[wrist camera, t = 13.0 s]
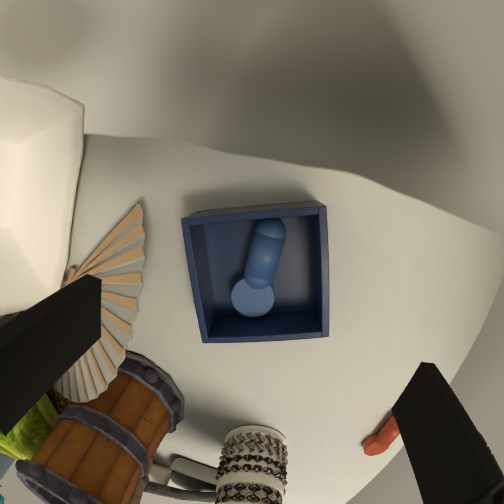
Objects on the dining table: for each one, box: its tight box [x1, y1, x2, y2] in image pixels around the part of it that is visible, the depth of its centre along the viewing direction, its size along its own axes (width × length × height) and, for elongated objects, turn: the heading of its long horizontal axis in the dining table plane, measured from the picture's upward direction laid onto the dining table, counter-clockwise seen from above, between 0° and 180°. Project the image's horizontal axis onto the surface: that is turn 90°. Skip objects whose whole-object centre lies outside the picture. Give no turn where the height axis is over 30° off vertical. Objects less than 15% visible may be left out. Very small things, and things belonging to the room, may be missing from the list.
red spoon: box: [363, 415, 400, 456], centre depth 29 cm, size 9×4×3 cm, turn 166°
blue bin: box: [181, 201, 329, 343], centre depth 24 cm, size 11×11×4 cm
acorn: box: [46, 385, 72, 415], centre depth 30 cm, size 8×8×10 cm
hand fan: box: [54, 202, 146, 403], centre depth 24 cm, size 26×1×15 cm
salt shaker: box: [148, 463, 172, 486], centre depth 35 cm, size 5×5×11 cm
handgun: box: [143, 481, 217, 502], centre depth 32 cm, size 2×17×12 cm
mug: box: [15, 351, 184, 504], centre depth 23 cm, size 19×14×20 cm
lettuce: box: [0, 393, 59, 460], centre depth 20 cm, size 14×24×14 cm
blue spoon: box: [231, 218, 286, 317], centre depth 24 cm, size 9×4×3 cm, turn 166°
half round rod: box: [169, 457, 285, 495], centre depth 35 cm, size 4×20×2 cm, turn 65°
